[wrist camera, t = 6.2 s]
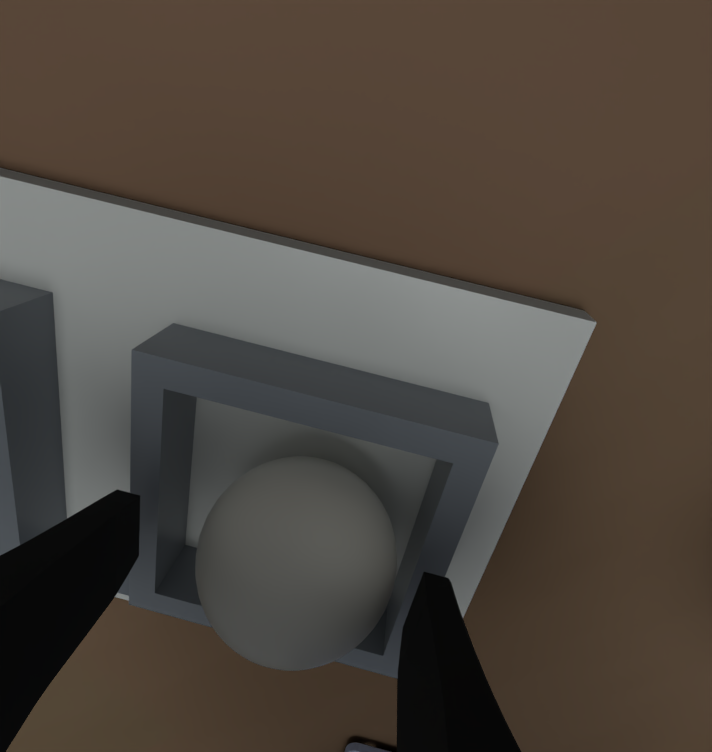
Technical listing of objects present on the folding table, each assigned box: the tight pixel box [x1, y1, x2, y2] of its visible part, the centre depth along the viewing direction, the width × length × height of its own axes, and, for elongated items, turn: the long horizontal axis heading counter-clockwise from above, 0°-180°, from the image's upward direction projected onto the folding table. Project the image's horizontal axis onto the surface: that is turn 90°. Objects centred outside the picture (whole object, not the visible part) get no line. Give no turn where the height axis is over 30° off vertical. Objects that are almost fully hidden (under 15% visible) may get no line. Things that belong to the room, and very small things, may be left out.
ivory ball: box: [195, 456, 397, 671], centre depth 12 cm, size 5×5×5 cm
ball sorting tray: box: [0, 168, 597, 679], centre depth 14 cm, size 24×14×3 cm, turn 78°
